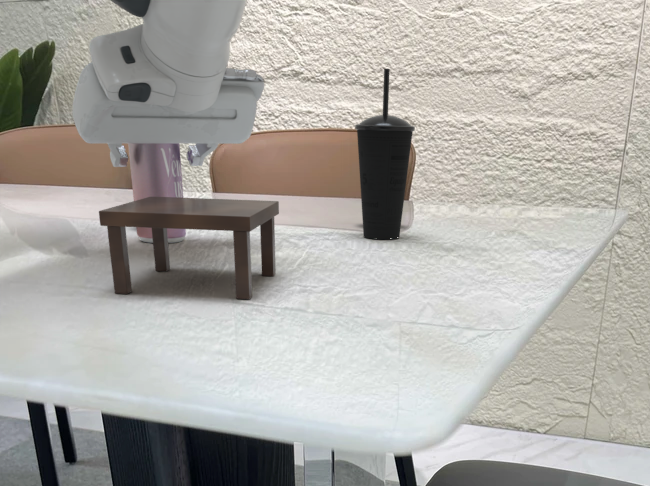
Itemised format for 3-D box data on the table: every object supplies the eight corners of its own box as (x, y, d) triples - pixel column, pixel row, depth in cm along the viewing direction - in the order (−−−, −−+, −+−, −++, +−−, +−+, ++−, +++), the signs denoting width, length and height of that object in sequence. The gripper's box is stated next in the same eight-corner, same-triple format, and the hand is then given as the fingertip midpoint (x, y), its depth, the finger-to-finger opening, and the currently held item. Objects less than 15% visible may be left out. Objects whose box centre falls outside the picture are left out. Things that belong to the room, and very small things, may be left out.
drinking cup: (383, 231, 109) (389, 71, 100) (421, 238, 103) (430, 69, 95) (341, 235, 104) (343, 67, 95) (378, 243, 99) (384, 66, 90)
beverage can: (161, 235, 100) (150, 107, 94) (196, 239, 98) (187, 108, 91) (127, 240, 96) (113, 106, 89) (162, 245, 93) (150, 107, 86)
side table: (108, 294, 68) (98, 211, 65) (156, 268, 80) (150, 196, 77) (252, 300, 67) (249, 216, 64) (280, 273, 79) (278, 201, 76)
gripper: (259, 49, 87) (227, 141, 98) (74, 37, 77) (63, 140, 88) (278, 94, 86) (244, 181, 97) (93, 87, 75) (79, 185, 87)
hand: (156, 162), depth 93 cm, fingers open, 8 cm apart
